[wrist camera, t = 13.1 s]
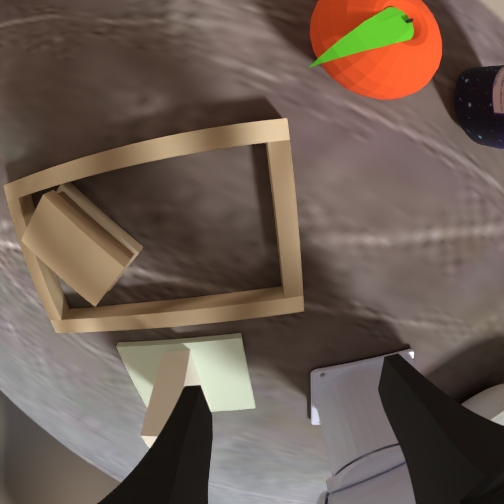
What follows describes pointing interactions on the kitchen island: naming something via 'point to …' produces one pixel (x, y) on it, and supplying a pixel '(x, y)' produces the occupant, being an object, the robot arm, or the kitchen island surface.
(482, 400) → the serving bowl
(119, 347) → the sage mat
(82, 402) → the kitchen island surface
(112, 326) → the wooden rectangular frame
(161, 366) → the cream rectangular block
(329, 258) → the kitchen island surface
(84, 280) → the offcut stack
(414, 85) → the clementine
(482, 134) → the beverage can
